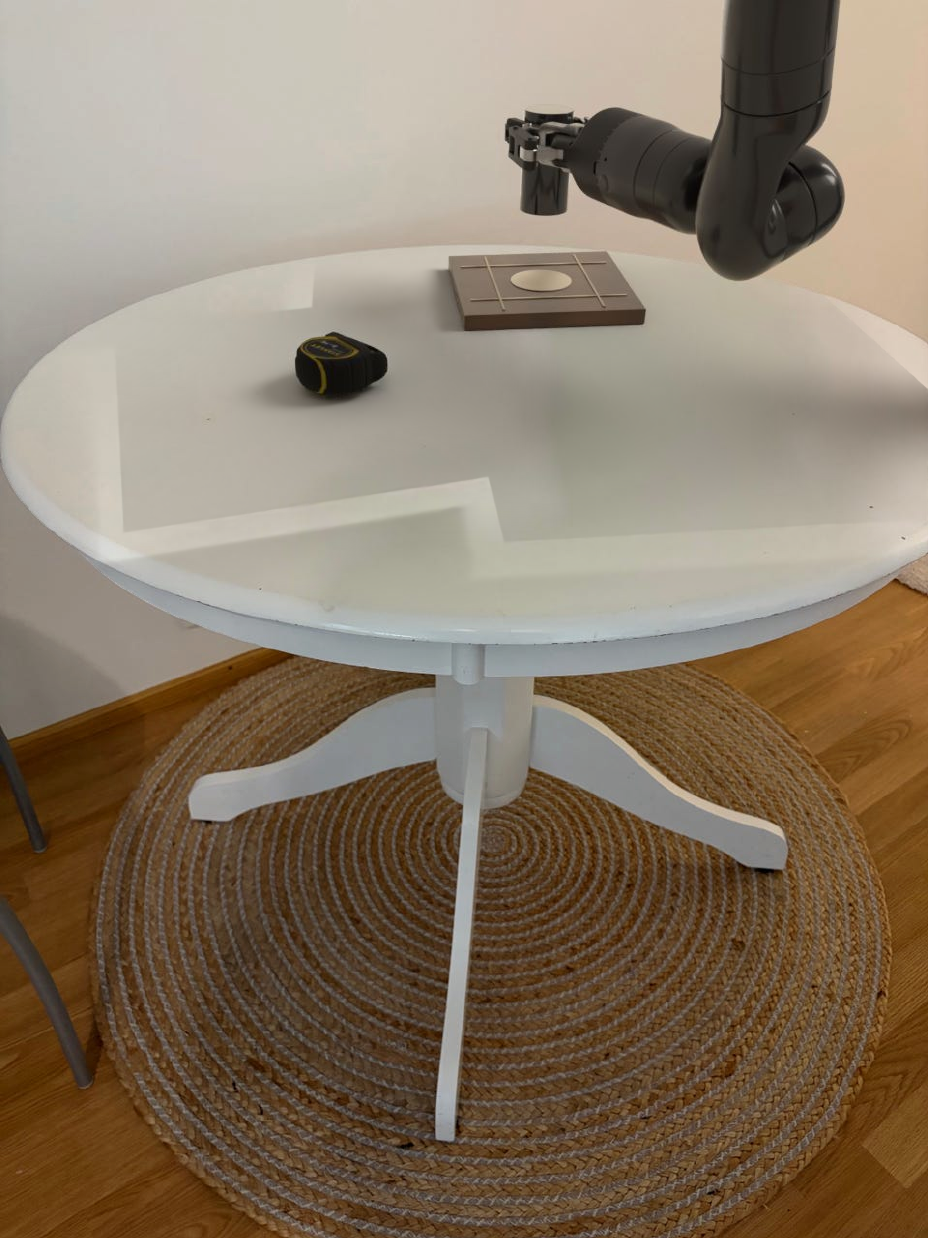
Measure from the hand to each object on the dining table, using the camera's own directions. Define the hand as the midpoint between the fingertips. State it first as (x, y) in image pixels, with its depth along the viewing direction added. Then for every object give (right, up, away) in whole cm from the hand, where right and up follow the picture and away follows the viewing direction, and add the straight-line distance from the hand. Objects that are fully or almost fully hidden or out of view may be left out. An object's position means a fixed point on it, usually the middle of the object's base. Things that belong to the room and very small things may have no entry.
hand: (533, 127), depth 93 cm
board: (+1, -14, +8) cm, 16 cm away
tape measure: (-18, -27, -9) cm, 34 cm away
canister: (+1, -7, +2) cm, 7 cm away
